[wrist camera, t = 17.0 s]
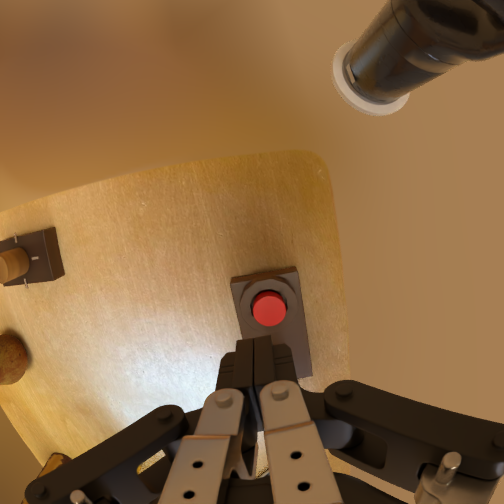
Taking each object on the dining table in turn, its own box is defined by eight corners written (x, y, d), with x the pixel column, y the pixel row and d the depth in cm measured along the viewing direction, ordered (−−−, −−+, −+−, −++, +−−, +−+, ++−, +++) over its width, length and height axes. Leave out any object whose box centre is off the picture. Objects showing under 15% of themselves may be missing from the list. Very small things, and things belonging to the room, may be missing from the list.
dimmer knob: (26, 246, 34) (3, 254, 29) (31, 273, 35) (9, 284, 30) (10, 248, 34) (-14, 255, 29) (15, 274, 35) (-8, 284, 30)
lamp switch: (250, 294, 34) (250, 299, 33) (281, 288, 34) (283, 293, 32) (256, 322, 35) (256, 328, 33) (286, 316, 35) (288, 323, 33)
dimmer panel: (54, 222, 36) (41, 225, 33) (66, 278, 38) (54, 285, 35) (4, 236, 37) (-8, 239, 34) (15, 285, 38) (4, 290, 35)
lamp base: (230, 276, 38) (228, 286, 34) (295, 264, 37) (299, 273, 33) (254, 377, 41) (254, 394, 37) (310, 367, 40) (315, 383, 36)
